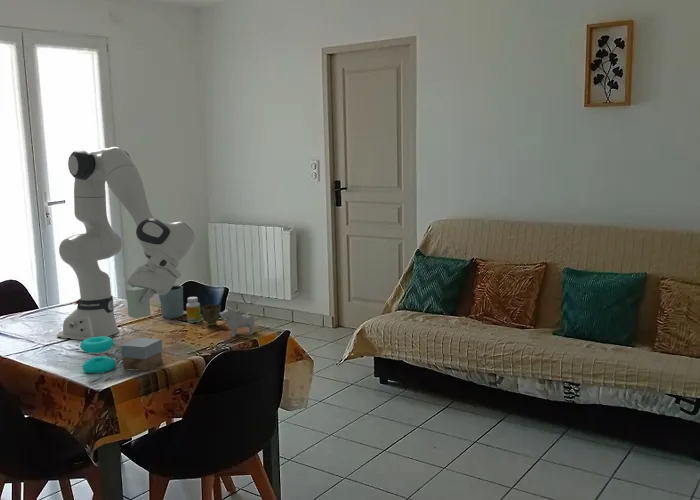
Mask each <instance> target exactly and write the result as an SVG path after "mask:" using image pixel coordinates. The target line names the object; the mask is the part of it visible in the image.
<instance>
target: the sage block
mask: <svg viewBox="0 0 700 500" xmlns="http://www.w3.org/2000/svg"><path fill="white" fill-rule="evenodd" d="M147 290H148V288H143V287H139V286H138V287H133V288H132V287H128V288H126V303H127V314H128V315H127V316H128V317H129V318H134V319H137V320H138V319H140V318H145V317H149V316H151V304H150V299H149V300H148V301H147V302H146V303H145V304H143V303H141V302H140V301H139V299H140V298H141V297H142V296H144V295H145V294H146V293H147Z"/></svg>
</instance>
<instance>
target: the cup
mask: <svg viewBox="0 0 700 500" xmlns="http://www.w3.org/2000/svg"><path fill="white" fill-rule="evenodd" d="M220 304H221V303H220ZM220 304H218V303H216V304H215V305H214V304H213V303H209V304H205V305H202V306H200V310H201V313H202V315H201V316H202V318H203V320H204V322H206V323H207V326H208V327H215V326H216V325H217V324H218V323H217V322H218V321H219V319H220V318H221V316H220V314H219V313H220V312H221V305H220Z"/></svg>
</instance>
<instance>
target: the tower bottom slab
mask: <svg viewBox="0 0 700 500" xmlns="http://www.w3.org/2000/svg"><path fill="white" fill-rule="evenodd" d="M162 354H163V353H162V352H160V353H158V354H156V355H154V356H152V357H150V358H148V359H135V358H123V357H122V367H123V368H122V369H141V370H140V371H151V370H152V369H153V367H154V366H155V367H156V366H158V365H159V364H161V363H162V362H163V356H162ZM160 362H161V363H160ZM155 367H154V368H155ZM150 369H151V370H150Z"/></svg>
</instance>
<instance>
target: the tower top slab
mask: <svg viewBox="0 0 700 500" xmlns="http://www.w3.org/2000/svg"><path fill="white" fill-rule="evenodd" d="M162 343H163V340H162V338H148V337H137V338H134V339H131V340H130V341H128V342H125V343H124V344H121V345H120V348H121V358H122V359H123V358H135V359H148V358H150V357H152V356H154V355H156V354H158V353H160V352H161V353H162V352H163V344H162Z"/></svg>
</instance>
